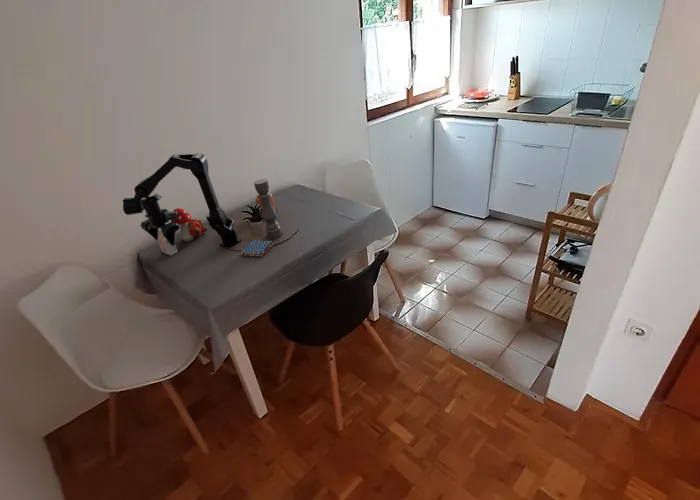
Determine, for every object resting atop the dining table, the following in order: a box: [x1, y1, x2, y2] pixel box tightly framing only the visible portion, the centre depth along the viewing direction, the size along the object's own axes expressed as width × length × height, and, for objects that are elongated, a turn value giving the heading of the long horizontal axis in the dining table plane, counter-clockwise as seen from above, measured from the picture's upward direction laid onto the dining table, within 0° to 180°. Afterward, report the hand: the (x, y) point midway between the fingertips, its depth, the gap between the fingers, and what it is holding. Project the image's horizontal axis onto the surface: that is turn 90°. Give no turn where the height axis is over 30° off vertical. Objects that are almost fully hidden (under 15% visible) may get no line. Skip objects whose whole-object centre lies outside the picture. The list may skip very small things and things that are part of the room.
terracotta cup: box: [254, 192, 277, 213], centre depth 202 cm, size 8×8×9 cm
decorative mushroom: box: [170, 207, 195, 242], centre depth 187 cm, size 10×9×15 cm
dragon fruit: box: [187, 218, 207, 239], centre depth 190 cm, size 8×8×12 cm
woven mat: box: [239, 239, 274, 258], centre depth 171 cm, size 10×11×2 cm
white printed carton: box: [156, 230, 179, 256], centre depth 179 cm, size 4×7×10 cm, turn 53°
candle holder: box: [253, 178, 282, 240], centre depth 175 cm, size 6×6×25 cm
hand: (166, 243), depth 179 cm, fingers open, 9 cm apart
